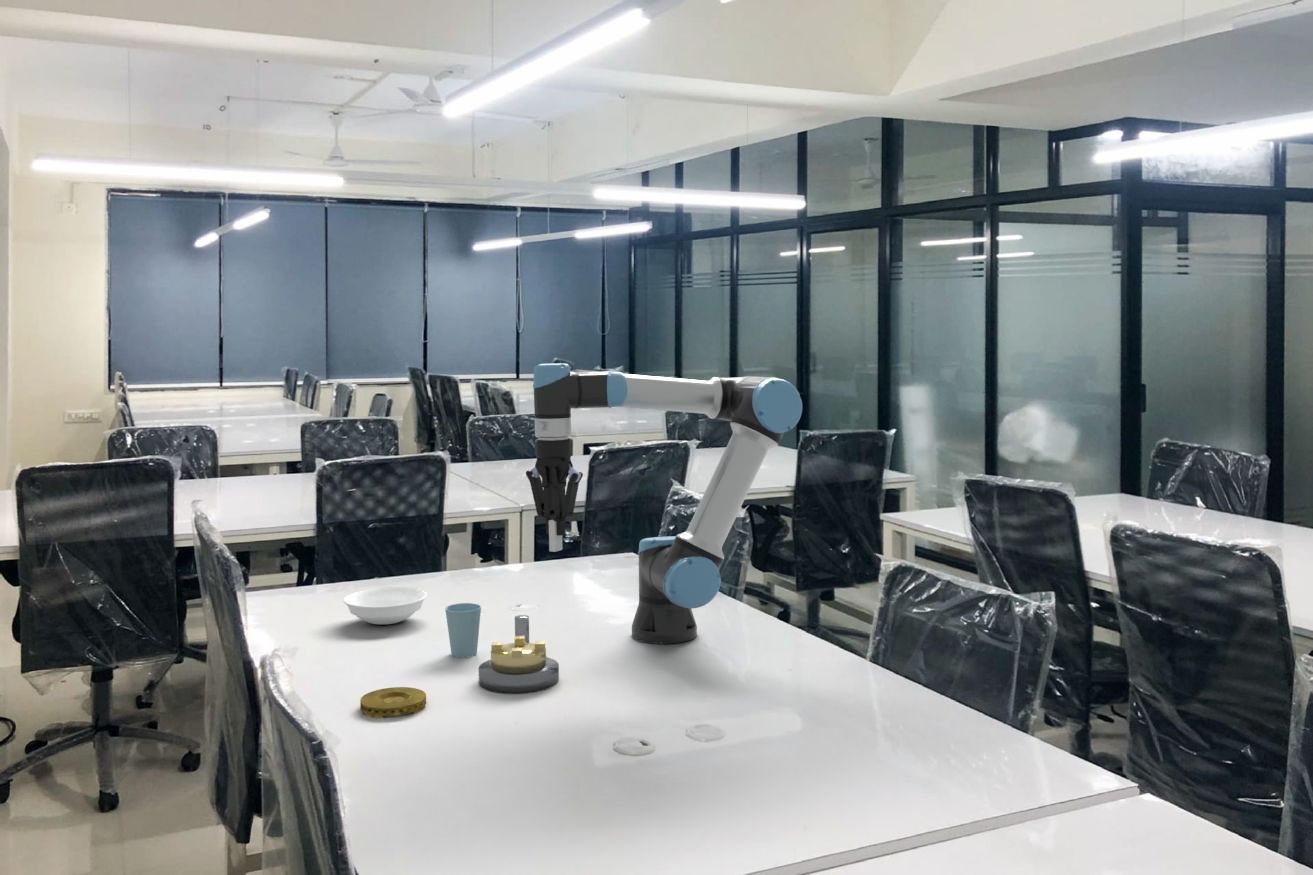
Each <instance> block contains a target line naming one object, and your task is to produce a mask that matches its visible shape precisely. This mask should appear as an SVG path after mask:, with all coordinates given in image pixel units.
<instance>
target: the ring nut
mask: <svg viewBox="0 0 1313 875" xmlns="http://www.w3.org/2000/svg"><path fill="white" fill-rule="evenodd" d="M546 657H547V648H546V641H545V640H543V641H541V640H539V641H538V640H537V641H534V643H533V642H530V616H529V615H527V614H520V615H515V616H514V642H511V643H505V644H503V642H502V641H493V642H491V650H490V660H491V667H492V669H493V670H495V671H498V672H503V673H528V672H533V671H537V670H540V669H542V668H544V667H545V666H546Z"/></svg>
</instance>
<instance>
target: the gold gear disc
mask: <svg viewBox="0 0 1313 875" xmlns="http://www.w3.org/2000/svg"><path fill="white" fill-rule="evenodd" d="M359 701H360V702H359V704H360V710H361V711H362V712H363V713H365V716H366V717H369V718H374V719H383V718H385V717H394V716H401V715H406V714H413V715H415V714H418V713H420V712H422V711H423V710H425V709H426V705H427V694H426V692H425V691H423V690H422V689H419V688H415V687H406V686H400V687H399V686H397V687H396V686H395V687H388V688H387V687H386V688H380V689H376V690H373V691H369V692H368V693H366V694H364V695H363V696H361V697H360V699H359Z"/></svg>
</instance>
